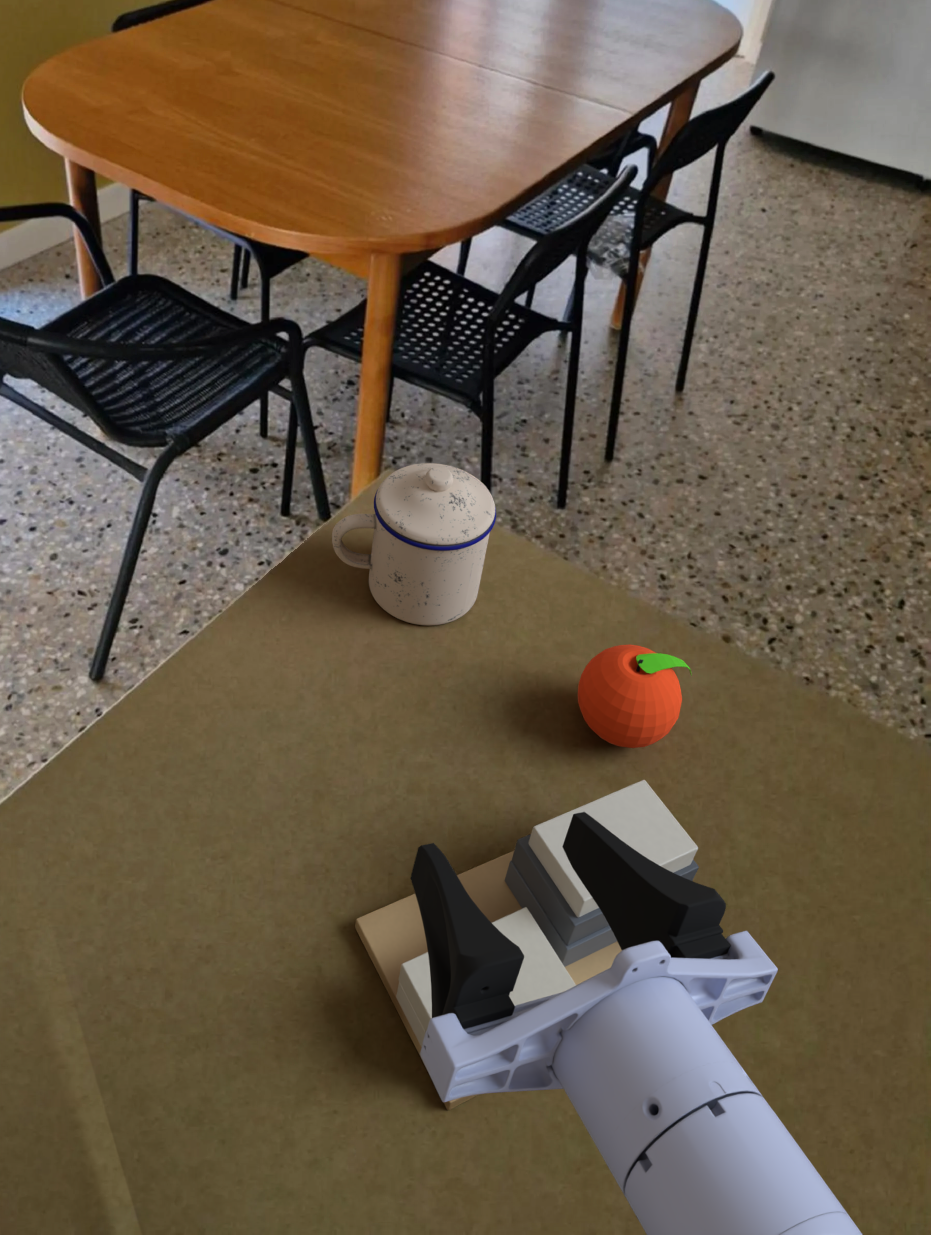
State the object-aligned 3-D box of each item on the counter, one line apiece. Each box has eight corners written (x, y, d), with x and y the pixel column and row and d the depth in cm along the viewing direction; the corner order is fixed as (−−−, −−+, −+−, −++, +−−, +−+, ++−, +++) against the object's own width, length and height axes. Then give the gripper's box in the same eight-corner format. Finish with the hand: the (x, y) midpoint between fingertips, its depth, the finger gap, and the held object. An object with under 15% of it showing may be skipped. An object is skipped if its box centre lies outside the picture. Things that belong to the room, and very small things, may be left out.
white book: (690, 864, 64) (699, 847, 63) (577, 918, 61) (583, 901, 60) (637, 796, 67) (644, 778, 66) (527, 843, 64) (532, 826, 63)
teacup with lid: (472, 548, 91) (492, 436, 84) (488, 631, 84) (512, 517, 77) (326, 545, 90) (334, 432, 83) (330, 629, 83) (339, 513, 76)
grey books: (683, 908, 67) (703, 869, 64) (560, 969, 63) (575, 930, 60) (623, 827, 71) (639, 786, 68) (503, 880, 67) (515, 839, 64)
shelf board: (720, 968, 65) (725, 959, 64) (447, 1111, 58) (449, 1103, 57) (608, 816, 72) (611, 807, 72) (354, 927, 65) (355, 918, 65)
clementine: (652, 678, 82) (676, 612, 77) (699, 755, 77) (728, 688, 72) (552, 697, 80) (572, 630, 75) (594, 778, 75) (618, 710, 70)
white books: (566, 1020, 61) (579, 988, 59) (440, 1084, 58) (448, 1054, 56) (516, 938, 64) (526, 905, 62) (394, 995, 61) (401, 963, 59)
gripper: (895, 1017, 38) (660, 749, 49) (541, 1138, 33) (363, 804, 43) (823, 1140, 42) (618, 863, 52) (489, 1271, 36) (335, 929, 47)
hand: (500, 844), depth 48 cm, fingers open, 7 cm apart
